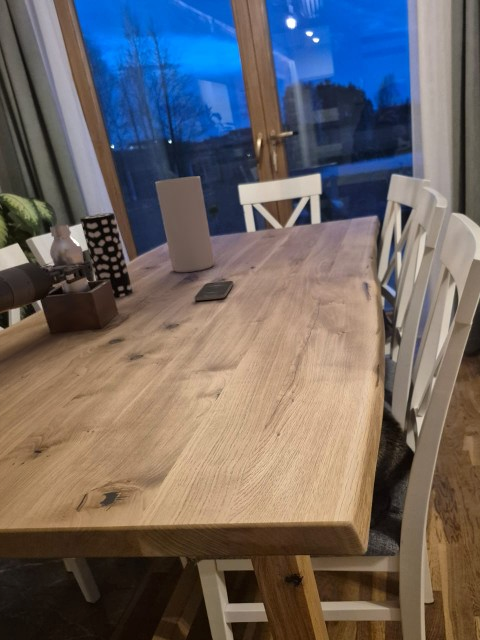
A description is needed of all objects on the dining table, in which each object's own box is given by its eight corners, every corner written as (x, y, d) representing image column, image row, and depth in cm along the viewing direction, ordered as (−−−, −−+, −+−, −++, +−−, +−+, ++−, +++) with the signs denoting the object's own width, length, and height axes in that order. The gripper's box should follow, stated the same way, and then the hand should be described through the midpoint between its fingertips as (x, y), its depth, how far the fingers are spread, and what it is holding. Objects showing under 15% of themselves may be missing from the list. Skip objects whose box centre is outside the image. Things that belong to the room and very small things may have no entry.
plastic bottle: (63, 320, 130) (37, 228, 121) (91, 312, 134) (67, 222, 125) (75, 324, 125) (49, 229, 117) (104, 315, 129) (80, 223, 121)
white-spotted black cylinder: (125, 288, 158) (106, 212, 150) (137, 292, 152) (119, 213, 143) (95, 295, 154) (75, 218, 145) (107, 300, 148) (86, 219, 139)
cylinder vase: (202, 261, 181) (187, 176, 171) (222, 265, 172) (207, 176, 161) (166, 270, 175) (148, 182, 164) (185, 275, 165) (167, 182, 155)
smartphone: (233, 280, 149) (224, 295, 135) (234, 283, 149) (225, 298, 135) (205, 283, 149) (193, 298, 136) (206, 286, 150) (193, 301, 136)
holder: (50, 333, 125) (39, 297, 122) (70, 317, 136) (61, 284, 132) (101, 328, 125) (91, 292, 121) (118, 313, 135) (109, 279, 132)
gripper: (39, 266, 109) (99, 248, 123) (-14, 268, 114) (49, 250, 128) (51, 305, 112) (108, 283, 126) (-2, 304, 118) (58, 283, 131)
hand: (78, 266), depth 127 cm, fingers closed on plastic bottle, 6 cm apart
